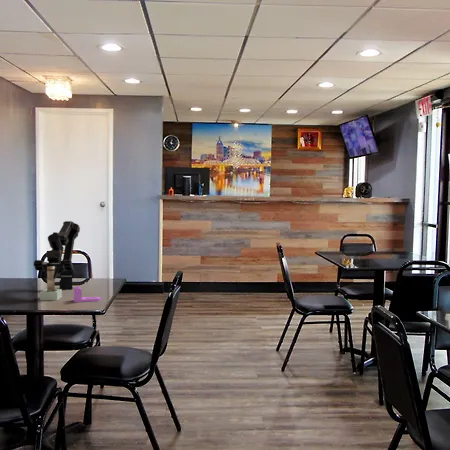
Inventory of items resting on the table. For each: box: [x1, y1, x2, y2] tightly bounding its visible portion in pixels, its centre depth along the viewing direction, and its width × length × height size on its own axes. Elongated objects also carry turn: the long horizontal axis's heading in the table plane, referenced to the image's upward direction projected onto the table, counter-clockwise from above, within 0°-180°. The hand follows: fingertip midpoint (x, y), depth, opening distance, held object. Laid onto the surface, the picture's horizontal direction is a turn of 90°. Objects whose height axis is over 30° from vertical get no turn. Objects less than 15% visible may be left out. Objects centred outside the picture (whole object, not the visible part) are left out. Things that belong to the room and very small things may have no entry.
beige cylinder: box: [46, 266, 56, 292], centre depth 255 cm, size 4×4×12 cm
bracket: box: [73, 286, 102, 303], centre depth 251 cm, size 13×6×7 cm, turn 107°
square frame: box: [39, 288, 63, 301], centre depth 255 cm, size 8×8×4 cm
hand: (50, 278), depth 253 cm, fingers closed on beige cylinder, 4 cm apart
